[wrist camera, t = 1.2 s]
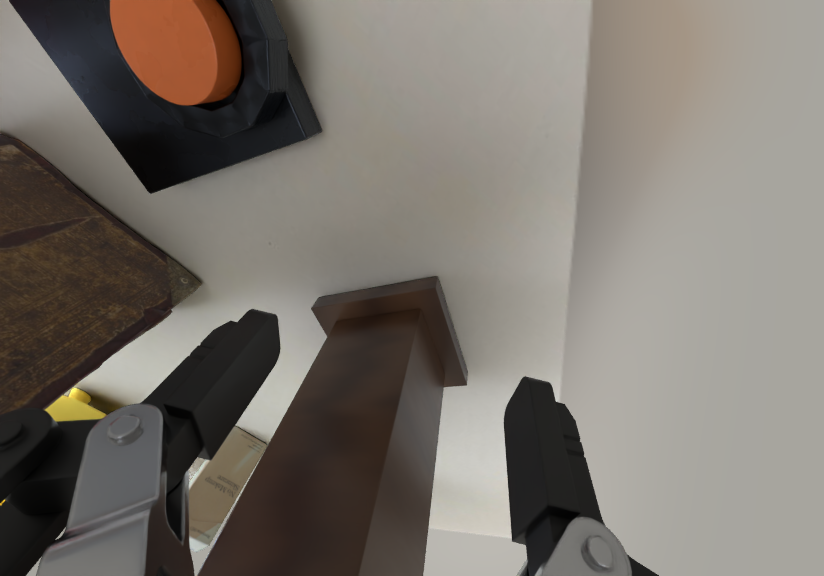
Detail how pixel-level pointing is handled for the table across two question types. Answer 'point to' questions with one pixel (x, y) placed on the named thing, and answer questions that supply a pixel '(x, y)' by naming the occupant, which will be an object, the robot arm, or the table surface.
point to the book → (69, 282)
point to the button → (179, 47)
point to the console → (168, 122)
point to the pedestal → (352, 445)
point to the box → (220, 485)
